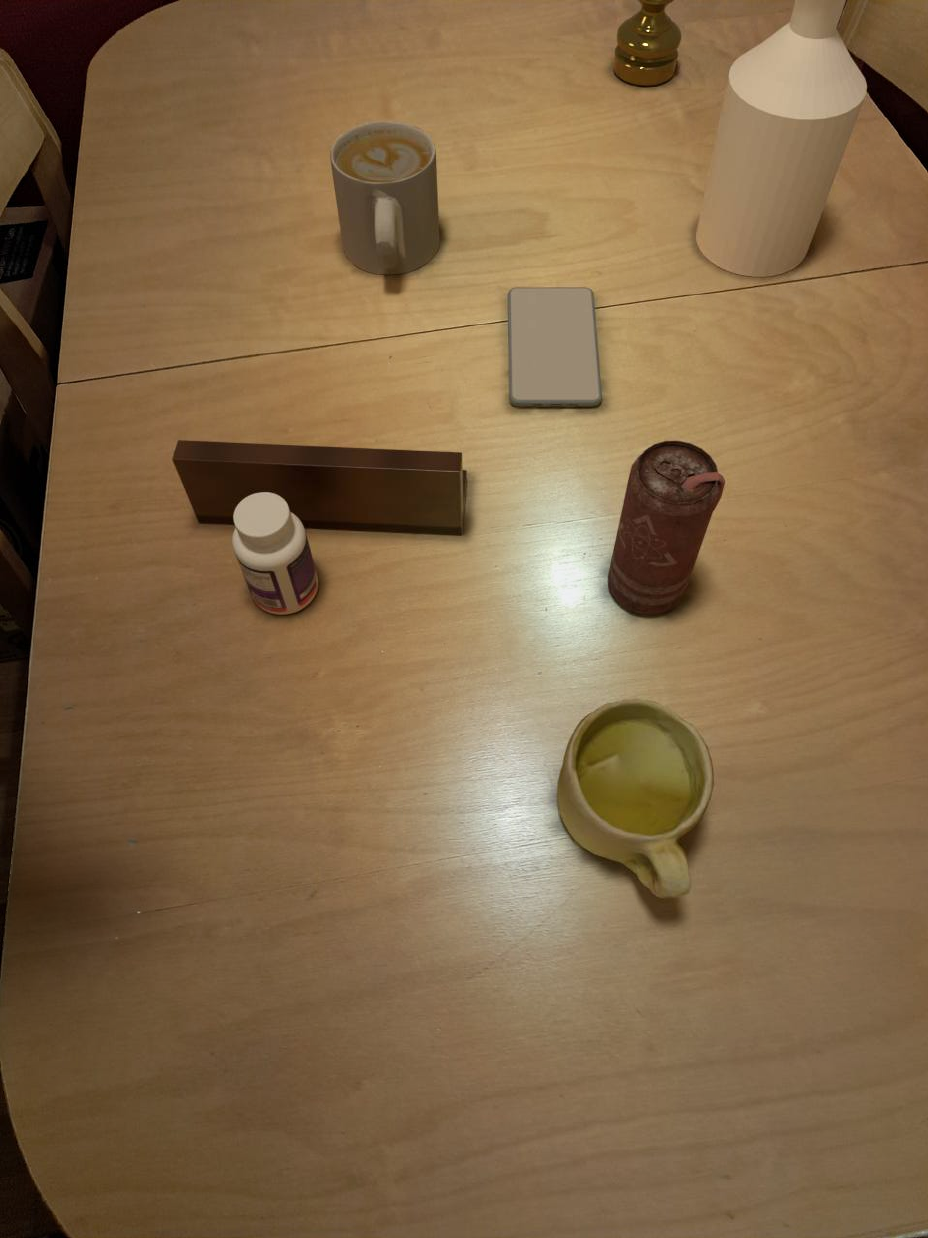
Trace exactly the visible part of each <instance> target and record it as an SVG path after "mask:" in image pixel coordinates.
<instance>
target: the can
mask: <svg viewBox="0 0 928 1238" xmlns="http://www.w3.org/2000/svg"><path fill="white" fill-rule="evenodd" d="M725 484H726V480H725V478H724V475H723V474H720V473H719V470H718V466H717V464H716V462H715V461H714V459H713V457H712V456H711V455H710V454H709V453H708V452H706V450H704V449H703V448H701V447H699V446H698V445H695V444H694V443H691V442H687V441H682V440H664V441H660V442H656V443H654V444H652V445H651V446H649V447H647V448H646V449H644V450H643V452H642V453H641V454H639V455H638V456H637V458H636V459H635V460H634V462H633V463H632V464H631V467H630V471H629V474H628V480H627V484H626V489H625V493H624V498H623V503H622V506H621V507H622V508H621V513H620V517H619V521H618V525H617V531H616V536H615V540H614V545H613V550H612V554H611V555H612V556H611V559H610V564H609V568H608V574H607V583H608V588H609V591H610V593H611V595H612V597H613V598H614V599H615V600H616V601H617V602H618V604H620V605H621V606H622V607H624V608H626V609H628V610H629V611H631V612H633V613H637V614H641V615H660V614H662V613H666V612H669V611H671V610H672V609H673V608H675V607H676V606H677V605H679V603H680V602H681V601H682V599H683V597H685V594H686V591H687V588H688V585H689V582H690V580H691V576H692V574H693V571H694V569H695V565H696V562H697V559H698V557H699V554H700V550H701V548H702V545H703V542H704V540H705V539H704V538H705V537H706V533H707V530H708V528H709V524H710V521H711V519H712V516H713V513H714V512H715V510H716V508H717V506H718V505H719V502H720V501H721V499H722V497H723V492H724V489H725Z"/></svg>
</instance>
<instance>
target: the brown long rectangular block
mask: <svg viewBox="0 0 928 1238" xmlns="http://www.w3.org/2000/svg"><path fill="white" fill-rule="evenodd" d="M171 461H172V463H173V465H174V468H175V470H176V472H177V474H178V477H179V479H180V482H181V484H182V486H183V488H184V491H185V493H186V496H187V498H188V501H189V503H190V506H191V508H192V510H193V512H194V516H195V518H196V520H197V522H198V524H209V525H210V524H211V525H234V526H235V524H234V519H233V516H234V511H235V509H236V507H237V505H238V504H239V503H240V502H241V501H242V500H243V499H245V498H246V497H248V496H250V495H252V494H255V493H261V492H269V493H274V494H277V495H279V496H280V497H282V498H283V499H284V500H285V501H286V503H287V504H288V507H289V510H290V512H292V513H293V514H294V515H296V516H297V517H298V518H299V520H300V521H301V522H302V524H303V526H304V529H315V530H317V529H318V530H338V531H339V530H340V531H356V532H357V531H359V532H379V533H381V532H382V533H403V534H422V535H423V534H424V535H446V536H462V535H463V528H464V518H465V506H466V505H465V504H466V492H467V483H468V482H467V481H468V471H467V469H463V468H464V467H463V452H460V451H438V450H437V451H436V450H416V449H413V450H412V449H392V448H372V447H371V448H369V447H347V446H346V447H345V446H324V445H323V446H321V445H319V446H318V445H299V444H278V443H277V444H276V443H255V442H254V443H253V442H251V443H250V442H230V441H228V442H226V441H206V440H205V441H204V440H184V439H183V440H181V439H178V440H177V442H176V445H175V448H174V452H173V455H172V459H171Z"/></svg>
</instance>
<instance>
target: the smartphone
mask: <svg viewBox="0 0 928 1238" xmlns="http://www.w3.org/2000/svg"><path fill="white" fill-rule="evenodd" d="M596 316H597V315H596V305H595V295H594V290H592V289H590V288H589V287H585V286H583V287H581V286H580V287H577V286H574V287H571V286H570V287H569V286H568V287H567V286H565V287H563V286H561V287H560V286H559V287H558V286H557V287H556V286H554V287H552V286H551V287H548V286H547V287H543V286H541V287H539V286H538V287H536V286H534V287H532V286H531V287H529V286H527V287H526V286H525V287H517V286H516V287H513V288H510V289H509V290H508V293H507V337H508V339H507V340H508V346H507V347H508V391H509V392H508V399H509V402H510V403H511V405H513V406H515V407H597V406H598V405H600V403H602V398H603V392H602V381H601V370H600V369H601V368H600V356H599V345H598V329H597V317H596Z"/></svg>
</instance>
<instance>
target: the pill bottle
mask: <svg viewBox="0 0 928 1238" xmlns="http://www.w3.org/2000/svg"><path fill="white" fill-rule="evenodd" d="M233 519H234V524H235V525H234V526H235V527H234V530H233V533H232V537H231V544H232V550H233V552H234V555H235V558H236V560H237V562H238V566H239V568H240V569H241V572H242V573H241V574H242V575H243V578H244V580H245V583H246V585H247V588H248V590H249V593H250V595H251V597H252V599H253V601H254V603H255V604H256V606H258V607H259V608H260V609H261V610H263V611H264V612H266V613H268V614H273V615H276V616H277V615H278V616H284V615H285V616H286V615H291V614H295V613H297V612H299V611H301V610H303V609H304V608H306V607H307V606H308V605H309V604H310V603H312V601H313V600H314V599H315V597H316V595H317V592H318V589H319V577H318V576H319V575H318V572H317V567H316V565H315V561H314V557H313V554H312V551H311V547H310V542H309V539H308V536H307V532H306V528H304V526H303V524H302V522H301V521H300V520H299V518H298V517H297V516H296V515H294V514H293V513H292V512H290V510H289V507H288V504H287V503H286V501H285V500H284V499H283V498H282V497H280V496H279V495H277V494H274V493H269V492H261V493H255V494H252V495H250V496H248V497H246V498H245V499H243V500H242V501H241V502H240V503H239V504H238V505H237V507H236V509H235V511H234V516H233Z"/></svg>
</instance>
